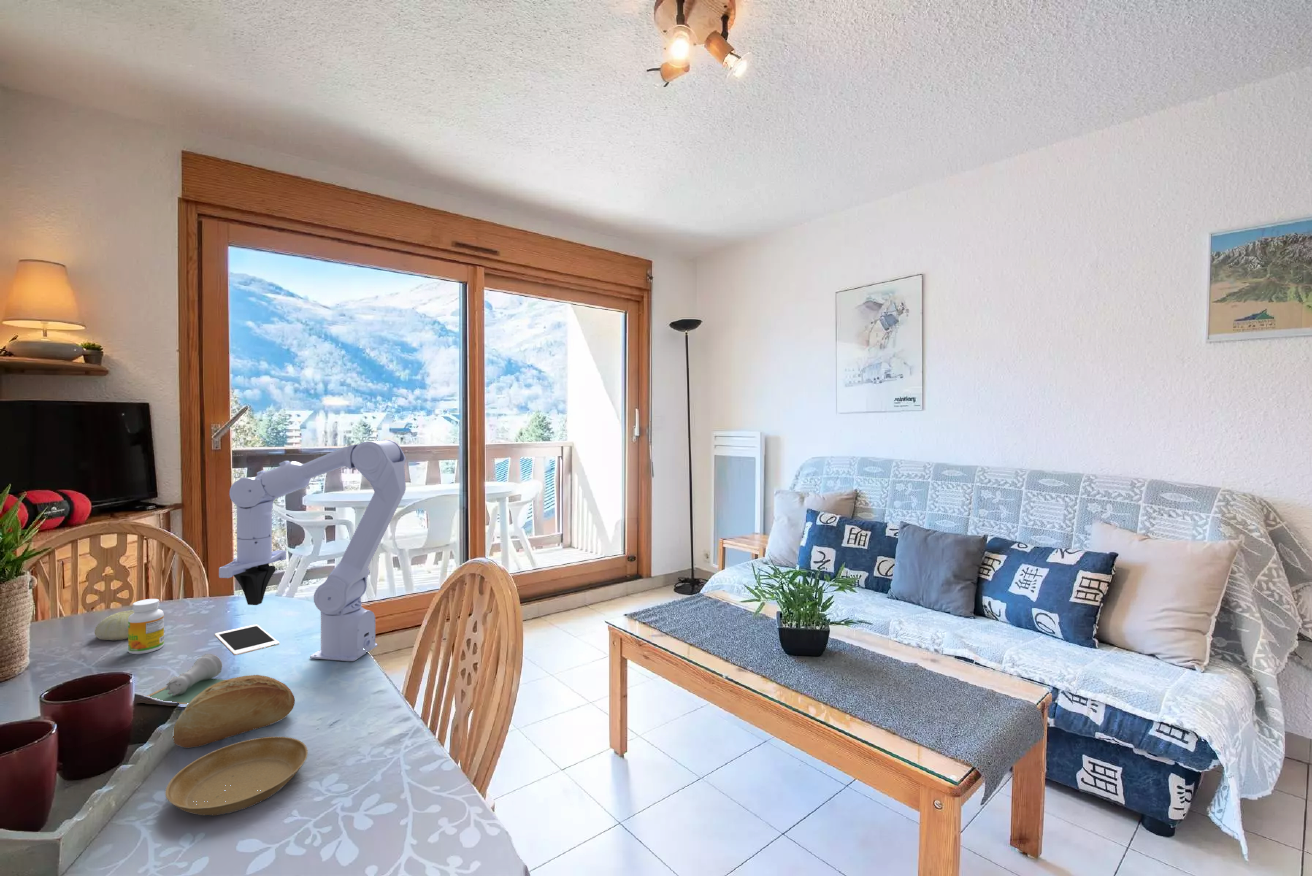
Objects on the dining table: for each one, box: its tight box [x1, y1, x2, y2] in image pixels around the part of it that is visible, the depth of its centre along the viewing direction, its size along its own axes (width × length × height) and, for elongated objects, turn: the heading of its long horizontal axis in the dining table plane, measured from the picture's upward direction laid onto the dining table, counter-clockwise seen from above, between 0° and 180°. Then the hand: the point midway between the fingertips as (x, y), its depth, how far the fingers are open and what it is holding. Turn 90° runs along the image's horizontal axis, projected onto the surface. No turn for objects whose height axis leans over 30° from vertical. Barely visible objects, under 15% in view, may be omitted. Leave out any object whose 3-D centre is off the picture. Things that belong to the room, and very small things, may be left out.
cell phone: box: [214, 623, 280, 656], centre depth 120 cm, size 8×16×1 cm, turn 50°
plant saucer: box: [164, 736, 309, 816], centre depth 73 cm, size 15×15×3 cm
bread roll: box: [172, 674, 296, 749], centre depth 85 cm, size 10×15×8 cm, turn 133°
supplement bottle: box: [127, 598, 165, 655], centre depth 114 cm, size 5×5×10 cm
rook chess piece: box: [164, 653, 223, 696], centre depth 98 cm, size 4×4×8 cm
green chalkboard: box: [146, 678, 225, 704], centre depth 97 cm, size 12×9×1 cm
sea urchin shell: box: [94, 609, 134, 641], centre depth 121 cm, size 9×8×8 cm
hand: (254, 603), depth 113 cm, fingers closed
